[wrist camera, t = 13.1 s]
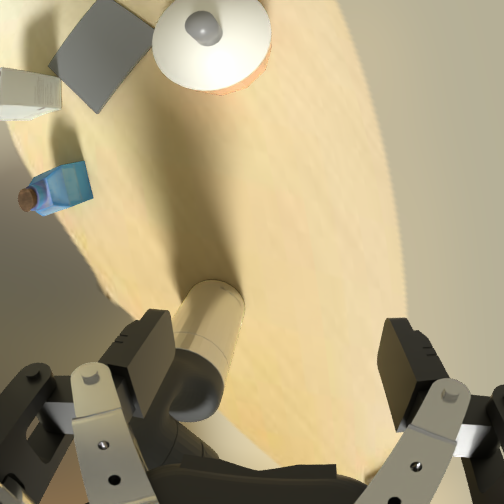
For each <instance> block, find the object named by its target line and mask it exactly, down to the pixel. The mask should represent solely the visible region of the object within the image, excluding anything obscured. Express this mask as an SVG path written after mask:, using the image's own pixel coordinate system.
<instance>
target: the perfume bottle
mask: <svg viewBox="0 0 504 504" xmlns="http://www.w3.org/2000/svg"><path fill="white" fill-rule="evenodd" d="M90 199H93V194H92V190H91V186H90V182H89V178H88V174H87V170H86V165H85V161H80V162H75V163H70V164H65V165H60V166H58V167H56V168H53V169H51V170H49V171H47V172H44V173H42V174H40V175H38V176H36V177H34V178H33V179H32V181H31V183H30V184H29V186H28V187H26V189H22V190H21V191H20V192H19V195H18V202H19V205H20V207H21V209H22V210H23V211H25V212H28V211H30V210H32V211H33V210H35V211H36V212H37V213H39V214H40V215H42V216H45V215H48V214H51V213H54V212H57V211H60V210H63V209H66V208H69V207H72V206H74V205H77V204H80V203H82V202H85V201H87V200H90Z"/></svg>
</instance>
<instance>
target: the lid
mask: <svg viewBox="0 0 504 504" xmlns="http://www.w3.org/2000/svg"><path fill="white" fill-rule="evenodd" d="M271 34H272V32H271V24H270V20H269V17H268V15H267V12H266V10H265V9H264V7H263V6H262V5H261V3H260V2H259V1H258V0H175V1H174V2H173V3H172V4H171V5H170V6H169V7H168V8H167V9H166V10H165V11H164V12H163V14H162V15H161V17H160V18H159V20H158V22H157V24H156V27H155V29H154V33H153V39H152V50H153V56H154V58H155V61H156V63H157V65H158V67H159V69H160V70H161V71H162V73H163V74H164V75H165V76H166V77H167V78H169V79H170V80H172V81H173V82H175V83H177V84H178V85H181V86H183V87H186V88H188V89H193V90H198V91H214V90H220V89H224V88H228V87H230V86H233V85H235V84H237V83H239V82H241V81H243V80H244V79H246V78H247V77H249V76H250V75H251V74H252V73H253V72H254V71H255V70H256V69H257V68H258V67H259V66H260V65H261V63H262V62H263V60H264V59H265V57H266V55H267V53H268V50H269V47H270V43H271Z"/></svg>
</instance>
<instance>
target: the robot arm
mask: <svg viewBox="0 0 504 504" xmlns="http://www.w3.org/2000/svg"><path fill="white" fill-rule="evenodd" d="M244 313H245V305H244V302H243V299H242V297H241V295H240V294H239V293H238V291H237V290H236V289H235V288H233V287H232V286H231V285H229V284H227V283H225V282H222V281H218V280H206V281H203V282H200V283H198V284H196V285H195V286H194V287H193V288H192V289H191V290H190V292H189V293H188V295H187V296H186V298H185V300H184V301H183V303H182V304H181V306H180V307H179V309H178V310H177V312H176V314H175V315H174V317H173V318H172V320H171V315H170V312H169V311H168V310H158V309H149V310H147V312H146V313H145V314H144V316H143V317H142V318H141V319H140V320H135V321H134V322H132V323H131V324H129V325H127V326H126V327H125V328H124V330H123V331H122V332H121V333H120V336H118V337H117V338H116V339H115V342H113V343H112V345H111V346H110V347H109V348H108V350H107V351H106V352H105V353H104V355H103V356H102V357H101V358H100V360H99V361H98V362H93V363H87V364H84V365H81V366H80V367H78V368H77V369H76V370H74V372H73V373H72V375H71V376H53V373H52V371H51V369H50V367H49V366H48V365H46V364H44V363H33V364H30V365H28V366H26V367H24V368H23V369H22V370H21V371H20V372H19V373H18V374H17V375H16V377H14V379H13V380H12V381H11V382H10V383H9V384H8V386H7V387H6V388H5V389H4V390H3V392H2V393H1V394H0V504H39V503H40V501H41V499H42V497H43V494H44V493H45V491H46V489H47V487H48V485H49V483H50V481H51V479H52V477H53V475H54V473H55V471H56V470H57V468H58V466H59V464H60V462H61V460H62V458H63V456H64V455H65V453H66V451H67V449H68V447H69V446H70V444H71V442H72V440H73V438H74V440H75V445H76V450H77V455H78V460H79V464H80V469H81V473H82V477H83V481H84V485H85V489H86V493H87V496H88V500H89V502H88V503H86V504H430V502H431V500H432V498H433V496H434V494H435V492H436V490H437V488H438V486H439V484H440V482H441V480H442V478H443V476H444V474H445V472H446V469H447V467H448V465H449V463H450V460H451V458H452V456H456V457H461V460H462V463H463V467H464V470H465V474H466V478H467V482H468V486H469V490H470V494H471V498H472V502H473V504H504V459H503V456H502V454H501V451H500V446H501V447H502V449H503V452H504V385H500V386H498V387H496V388H495V389H494V391H493V393H492V395H491V397H488V396H477V395H471V394H470V391H469V389H468V388H467V387H466V385H465V384H463V383H462V382H460V381H458V380H455V379H451V378H450V377H449V375H448V374H447V372H446V370H445V368H444V366H443V364H442V362H441V361H440V359H439V357H438V356H437V354H436V352H435V350H434V348H433V347H432V345H431V343H430V341H429V339H428V338H427V337H426V336H425V335H424V334H422V333H421V332H420V331H419V330H416V331H413V329H412V327H411V325H410V323H409V321H408V320H407V318H387V319H386V320H385V323H384V327H383V332H382V337H381V341H380V346H379V350H378V356H377V365H378V370H379V373H380V377H381V380H382V383H383V387H384V390H385V393H386V397H387V400H388V404H389V408H390V411H391V415H392V419H393V422H394V426H395V430H396V433H397V432H404V433H403V435H402V436H401V438H400V440H399V441H398V443H397V444H396V446H395V448H394V449H393V451H392V452H391V454H390V455H389V457H388V458H387V460H386V461H385V463H384V464H383V466H382V467H381V468H380V470H379V471H378V473H377V474H376V476H375V477H374V478H373V480H372V481H371V482H370V484H369V485H368V486H367V485H366V484H364V483H362V482H360V481H358V480H356V479H353V478H350V477H347V476H343V475H338V474H337V472H336V464H327V465H294V466H288V467H282V468H276V469H269V470H263V471H256V470H252V469H249V468H245V467H242V466H239V465H236V464H233V463H230V462H227V461H224V460H221V459H219V457H218V455H217V453H216V452H215V451H214V450H213V449H211V447H210V446H208V445H207V444H206V443H205V442H203V441H202V440H201V439H200V438H198V437H197V436H196V435H194V434H193V433H192V432H191V431H189V430H188V429H187V428H186V427H184V426H183V425H182V424H180V423H179V422H178V421H181V422H197V421H201V420H204V419H206V418H209V417H210V416H211V415H213V414H214V413H215V412H216V410H217V409H218V407H219V405H220V402H221V399H222V395H223V391H224V387H225V383H226V380H227V376H228V372H229V368H230V365H231V361H232V358H233V354H234V350H235V347H236V343H237V339H238V336H239V332H240V329H241V325H242V321H243V318H244ZM35 416H37V418H38V420H39V421H40V422H39V423H38V425H37V426H36V428H35V429H34V431H33V433H32V434H31V435H30V437H29V438H28V440H26V431H27V428H28V427H29V425H30V424H31V422H32V421H33V419H34V418H35Z"/></svg>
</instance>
